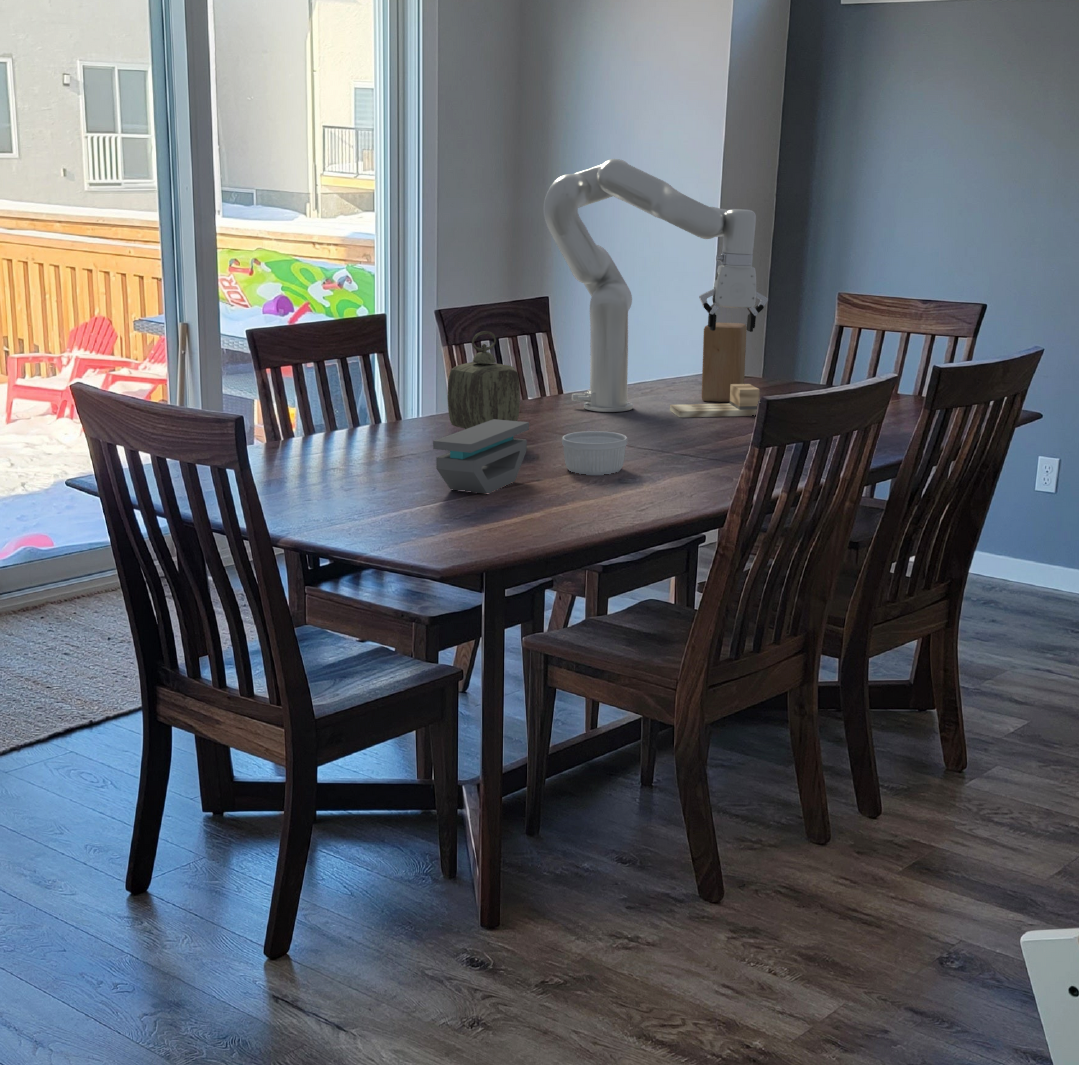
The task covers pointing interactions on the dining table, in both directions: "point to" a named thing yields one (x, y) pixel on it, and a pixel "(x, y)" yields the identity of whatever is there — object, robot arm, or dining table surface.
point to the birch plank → (709, 410)
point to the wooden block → (723, 360)
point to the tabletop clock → (483, 390)
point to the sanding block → (744, 396)
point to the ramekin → (594, 452)
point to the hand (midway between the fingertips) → (730, 330)
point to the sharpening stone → (482, 456)
